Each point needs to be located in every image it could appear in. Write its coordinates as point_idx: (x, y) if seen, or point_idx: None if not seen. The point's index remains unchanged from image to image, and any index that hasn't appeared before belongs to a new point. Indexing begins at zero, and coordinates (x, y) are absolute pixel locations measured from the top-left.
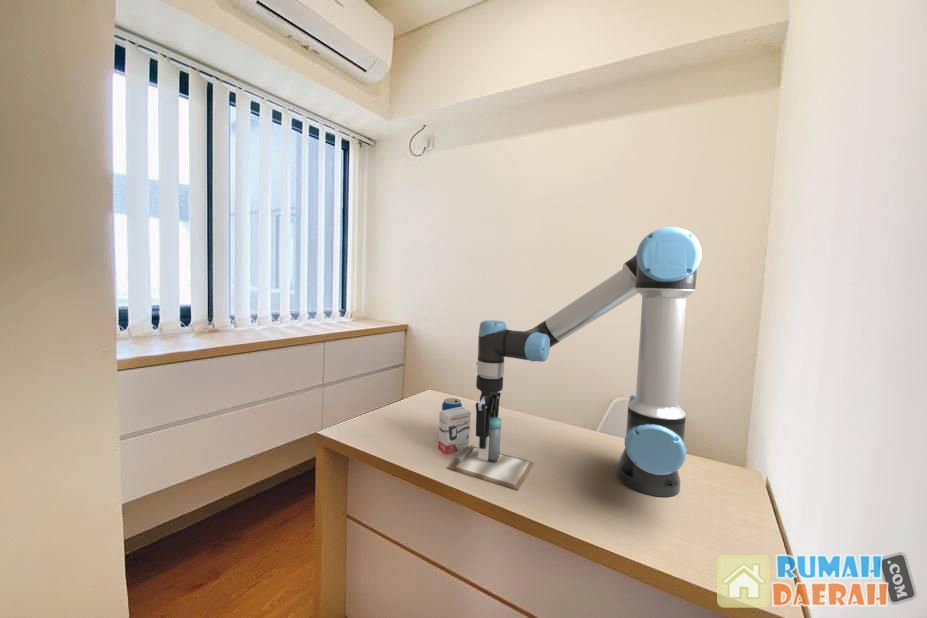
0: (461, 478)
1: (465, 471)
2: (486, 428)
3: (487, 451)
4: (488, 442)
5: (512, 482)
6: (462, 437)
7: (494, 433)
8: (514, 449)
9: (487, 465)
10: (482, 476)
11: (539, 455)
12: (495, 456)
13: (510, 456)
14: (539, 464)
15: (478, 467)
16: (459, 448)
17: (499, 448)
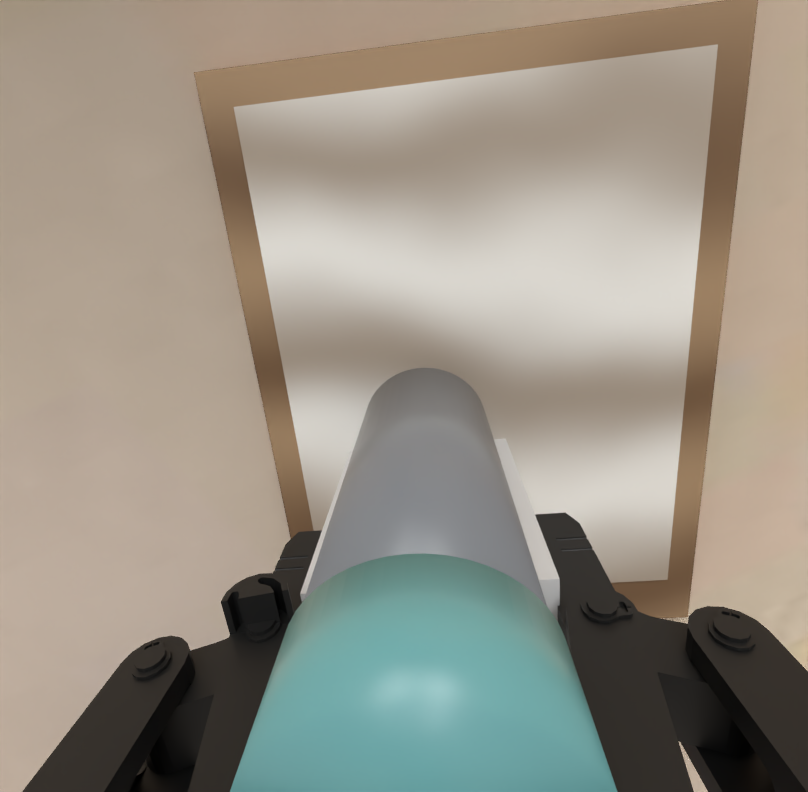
0: (756, 483)
1: (686, 500)
2: (673, 741)
3: (518, 476)
4: None
5: (687, 91)
6: None
7: (529, 557)
8: (98, 351)
9: (526, 408)
10: (697, 367)
11: (9, 98)
12: (468, 391)
13: (253, 319)
14: (167, 20)
15: (595, 450)
16: None
17: (414, 399)
